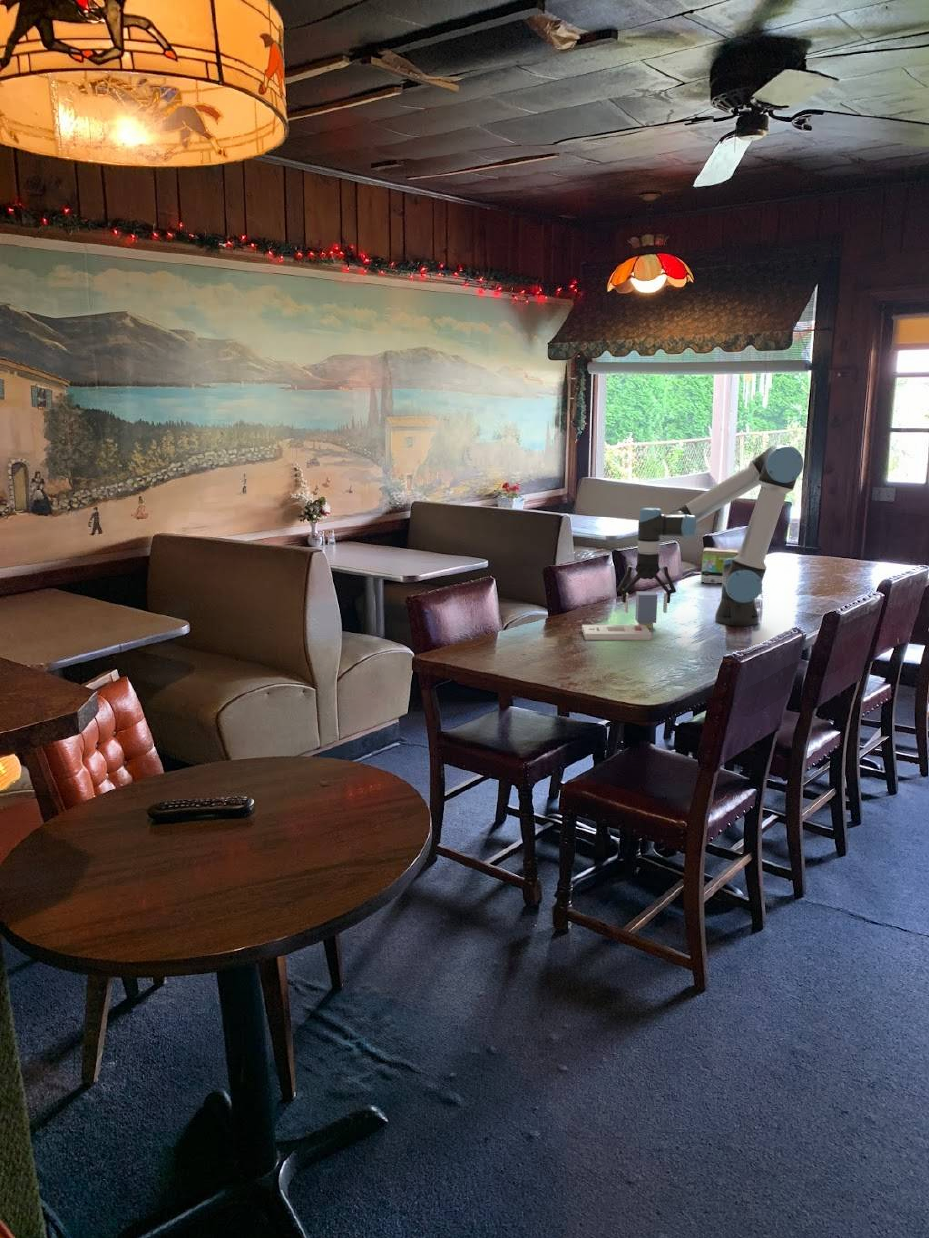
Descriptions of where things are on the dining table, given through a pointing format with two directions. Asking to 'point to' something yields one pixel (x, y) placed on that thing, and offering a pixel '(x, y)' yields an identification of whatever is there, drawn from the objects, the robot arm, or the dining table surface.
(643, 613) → the plug
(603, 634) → the socket plate
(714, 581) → the tea box
